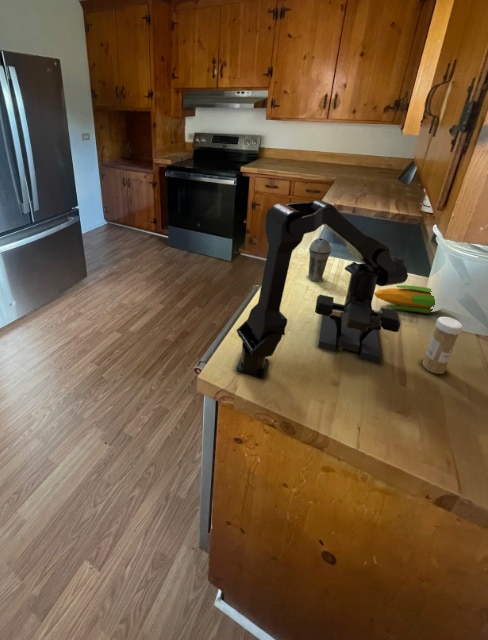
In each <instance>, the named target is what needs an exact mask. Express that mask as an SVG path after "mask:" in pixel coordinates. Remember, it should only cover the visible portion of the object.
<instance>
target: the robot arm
mask: <svg viewBox="0 0 488 640" xmlns="http://www.w3.org/2000/svg"><path fill="white" fill-rule="evenodd" d="M322 226H324V227H325V228H326V227H327V230H329V231H330V232H331V233H333V234H334V235H335V236H336V237H338V238H339V239H340V240H341V241H342V242H343V243H345V245H346V249H347V250H348V252H349V253H350V254H351V256H353V257H355V258H356V259H358V260H360V261H361V262H362V263H357V262H356V261H353V262H352V263H350V264H347V265H346V266H345V267H344V270H345V271H346V272H347V273H350V277H349V282H348V286H347V290H346V293H345V294H346V295H345V300H344V304H341V303H338V302H334V298H335V297H333V296H329V295H324V294H319V295H317V296H316V297H317V298H316V303H315V308H314V313H315V314H317V315H321V316H322V315H325V316H329V318H330V319H332V320H334V321H335V324H336V327H337V332H338V335H337V337H338V339H339V338H340V336H341V324H342V313H346V320H345V325H346V327H348V328H353V329H358V330H360V331H361V332H360V335H359V341H360V343H361V342H362V341H363V339H364V338H365V337H366V336H367V335H368V334H369V333H370V332H371V331H373V330H377V331H381V330H382V329H383V330H385V331H388V332H393V333H398V332H399V331H400V328H401V320H400V313H398V311H397V310H396V309H390V308H385V307H380V308H379V309H378V310H375V309H373V307H372V303H373V299H374V296H375V294H374V293H375V292H376V291H375V290H376V287H377V286H379V287H387V286H393V285H399V284H400V285H401V284H404V283H405V282H406V281H407V280H408V278H409V274H408V269H407V267H406V265H405V264H404V262H405V259H404V258H402V257H399V256H391V253H390V252H391V248H390V246H389V245H387V244H386V243H384V242H382V241H379V240H378V239H376V238H373V237H371V236H369V235H367V234H366V233H364V231H362V230H361V229H360V228H359V227H358V226H356V225H355V224H354V223H353V222H352V221H351V220H350V219H348V218H347V217H345V215H344V214H343V213H341V212H340V211H339V210H338V209H337V207H336V206H335V205H333V204H331V203H329V202H327V201H324V200H321V199H316V200H312V201H307V202H291V203H281V202H280V203H276V204H274V205H273V206H271V207H270V208H269V209H268V210H267V211H266V214H265V228H264V229H265V231H264V232H265V234H266V239H267V243H268V247H267V254H266V259H265V263H264V268H263V269H264V270H263V274H262V281H261V284H260V285H261V286H260V291H259V296H258V301H257V303H256V304H255V305H254V306H253V307H252V308H251V309H250V312H249V315H248V318H247V319H246V320H245V321H244V322H243V323H242V324H241V325H240V326H239V327H238V328H237V329H236V333H237V336H238V337H239V339H240V340H241V341H242V344H241V354H240V355H241V356H240V358H239V360H238V363H237V365H236V368H235V370H236V372H240V373H242V374H245V375H248V376H251V377H255V378H258V379H264V377H265V374H266V371H267V368H268V364H269V359H268V358H269V357H272V356H273V355H274V352H275V351H276V349H277V347H278V345H279V343H281V340H282V338H283V336H285V335H286V327H287V324H288V319H287V318H286V316H285V315H284V314H283V313H282V312H281V310H280V309H281V304H282V300H283V295H284V291H285V287H286V286H285V285H286V282H287V277H288V273H289V268H290V265H291V264H290V263H291V258H292V254H293V252H294V251H295V249H296V248H297V247H298V246H299V245H300V244H301V243H302V241H303V240H304V236H305V235H306V234H309V233H314V232H316V231H317V230H318V229H319V228H321V227H322Z"/></svg>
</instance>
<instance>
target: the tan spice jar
mask: <svg viewBox="0 0 488 640" xmlns="http://www.w3.org/2000/svg"><path fill="white" fill-rule="evenodd" d="M462 331H463V324H462V323H461V322H460V321H458V320H457V319H455V318H452V317H449V316H439V317H438V318H437V320H436V323H435V328H434V331H433V333H432V336H431V338H430V342H429V344H428V347H427V350H426V354H425V357H424V360H423V361H422V365H423V367H424V368H425V369H426V370H427V371H429V372H430V373H434V374H436V375H443V374H445V372H446V368H447V366H448V363H449V362H450V359H451V356H452V353H453V351H454V348H455V345H456V342H457V339H458V337H459V335H460V334H461V333H462Z"/></svg>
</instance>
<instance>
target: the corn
mask: <svg viewBox="0 0 488 640" xmlns="http://www.w3.org/2000/svg"><path fill="white" fill-rule="evenodd" d="M395 286H396V288H392V287H391V288H383V289H378V290H377V291H374V296H375V297H376V298H377V299H379V300H381V301H384V302H386V303H389V304H386V305H385V306H386V307H388V308H391V309H394V310H400V311H406V312H413V313H421V314H431V313H430V312H431V311H432V310H433V309H430V308H431V307H432V306H433V307H434V305H435V299H434V296H432V295H431V293H430V292H432V291H431V289H432V288H429V287H424V286H419V285H408V284H402V285H401V284H400V285H395Z"/></svg>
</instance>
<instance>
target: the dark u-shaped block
mask: <svg viewBox="0 0 488 640" xmlns="http://www.w3.org/2000/svg"><path fill="white" fill-rule="evenodd" d="M345 320H346V313H342V324H341V328H344V329H348V330H352V331H356V332H359V335H360V332H361V331H360V330H358V329H353V328H348V327H346V325H345ZM337 337H338V332H337V327H336V324H335V321H334V320H332V319H330V318H329V316H325V315H321V321H320V329H319V337H318V346H317V347H318V348H319V349H324V350H327V351H331V352H335V351H336V348H337ZM379 344H380V343H379V335H378V330H373V331H371V332H370V333H369V334H368V335H367V336H366V337H365V338H364V339H363V341H362V342H361V343H360V347H359V354H360V356H359V357H360V359H361V360H365V361H368V362H372V363H375V364H379V363H380V361H381V360H380V359H381V353H380V345H379Z"/></svg>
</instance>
